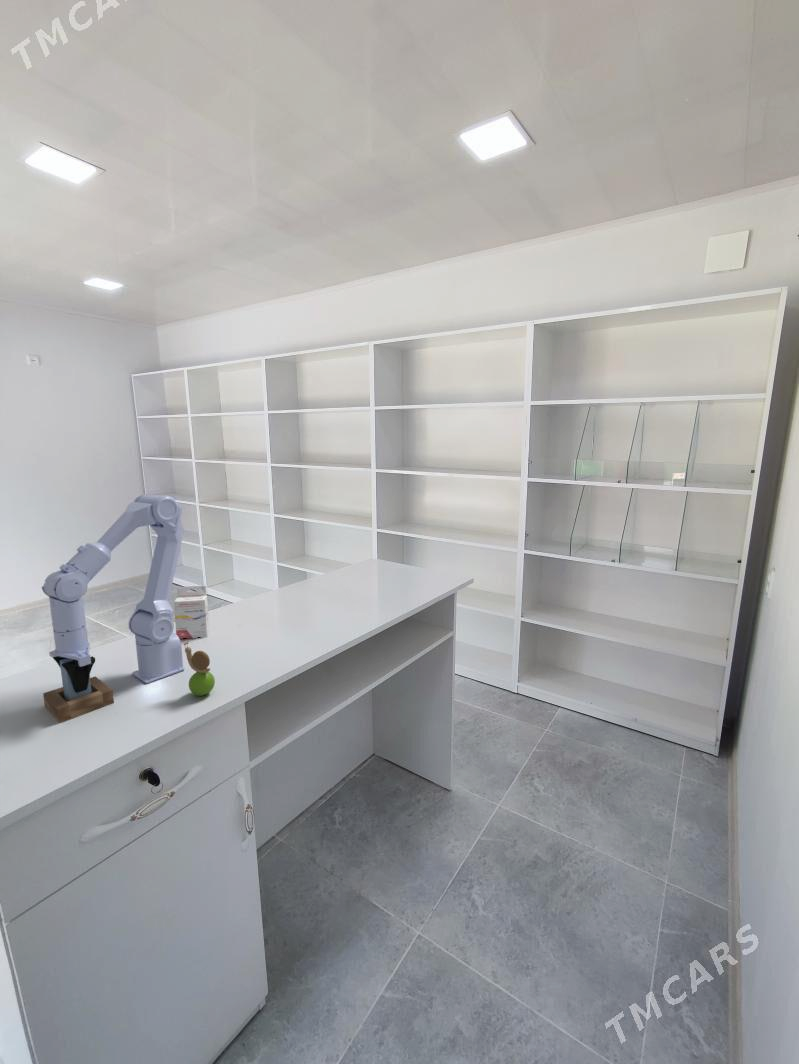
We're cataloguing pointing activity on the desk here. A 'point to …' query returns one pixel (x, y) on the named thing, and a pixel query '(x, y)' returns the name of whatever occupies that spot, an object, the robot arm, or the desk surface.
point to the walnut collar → (78, 701)
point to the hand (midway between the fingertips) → (77, 687)
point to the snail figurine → (199, 672)
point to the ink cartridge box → (191, 612)
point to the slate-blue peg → (67, 685)
